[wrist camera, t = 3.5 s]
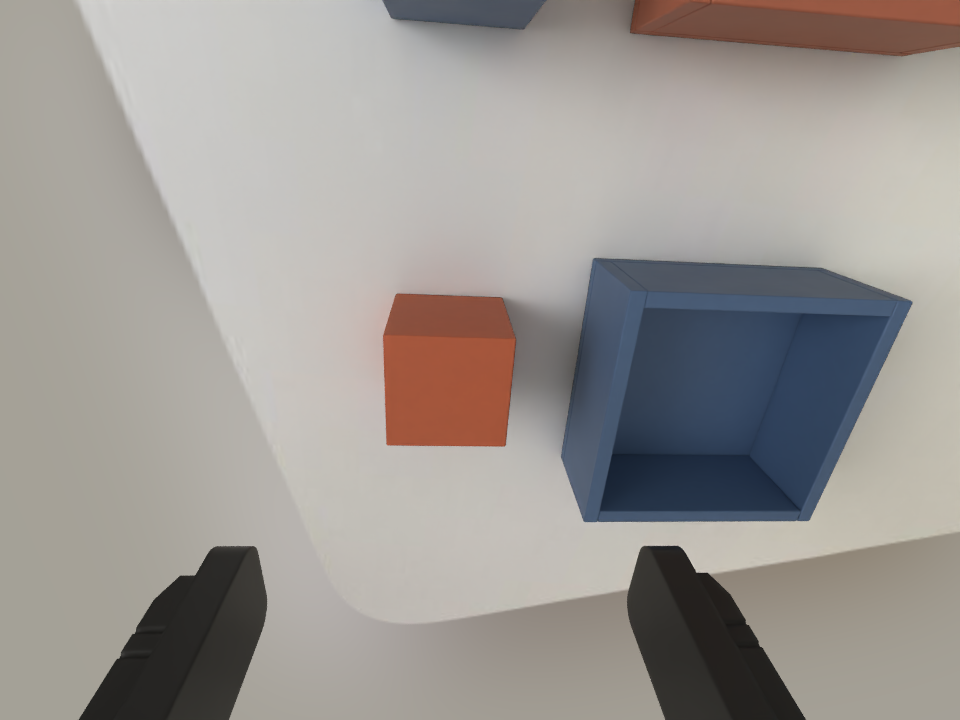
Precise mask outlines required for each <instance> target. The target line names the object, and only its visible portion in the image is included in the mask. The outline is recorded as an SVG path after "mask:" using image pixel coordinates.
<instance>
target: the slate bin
mask: <svg viewBox="0 0 960 720" xmlns="http://www.w3.org/2000/svg"><path fill="white" fill-rule="evenodd" d="M911 305H912V301H910V300H907V299H905V298H902V297H899V296H897V295H894V294H891V293H888V292H886V291H883V290H880V289H877V288H875V287H872V286H869V285H867V284H864V283H861V282H858V281H856V280H853V279H850V278H847V277H845V276H842V275H839V274H836V273H834V272H831V271H829V270H826V269H823V268H807V267H784V266H761V265H738V264H715V263H692V262H670V261H647V260H624V259H601V258H594V259H593V264H592V270H591V276H590V282H589V288H588V295H587V301H586V307H585V313H584V319H583V325H582V331H581V338H580V344H579V350H578V356H577V362H576V368H575V374H574V381H573V387H572V393H571V399H570V405H569V411H568V418H567V424H566V430H565V436H564V442H563V448H562V454H561V458H562V461H563V464H564V467H565V469H566V472H567V475H568V478H569V481H570V484H571V486H572V489H573V492H574V495H575V498H576V501H577V503H578V506H579V509H580V512H581V515H582V518H583V521H584V522H597V521H598V522H678V521H796V520H797V521H809V520H810V518H811V516H812V514H813V512H814V510H815V508H816V506H817V503H818V501H819V499H820V497H821V495H822V493H823V491H824V489H825V487H826V484H827V482H828V480H829V478H830V476H831V474H832V472H833V470H834V468H835V465H836V463H837V461H838V459H839V457H840V455H841V453H842V451H843V449H844V446H845V444H846V442H847V440H848V438H849V436H850V434H851V432H852V430H853V427H854V425H855V423H856V421H857V419H858V417H859V415H860V413H861V411H862V408H863V406H864V404H865V402H866V400H867V398H868V396H869V394H870V392H871V389H872V387H873V385H874V383H875V381H876V379H877V377H878V375H879V373H880V370H881V368H882V366H883V364H884V362H885V360H886V358H887V356H888V354H889V351H890V349H891V347H892V345H893V343H894V341H895V339H896V337H897V335H898V332H899V330H900V328H901V326H902V324H903V322H904V320H905V318H906V316H907V313H908V311H909V309H910V307H911Z"/></svg>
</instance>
